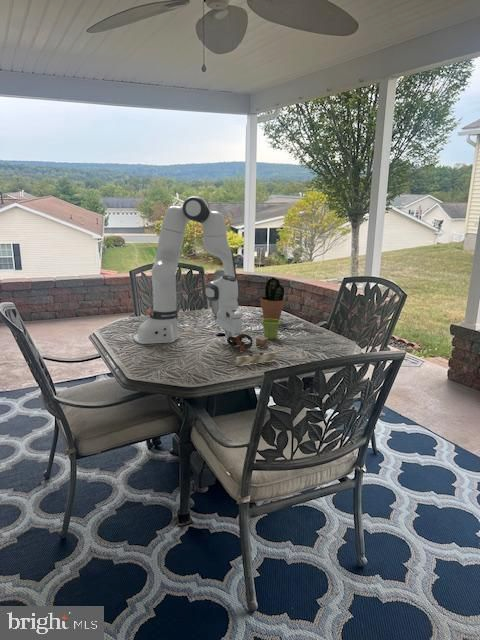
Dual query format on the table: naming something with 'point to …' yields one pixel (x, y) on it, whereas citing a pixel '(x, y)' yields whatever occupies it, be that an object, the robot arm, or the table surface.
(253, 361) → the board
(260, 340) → the walnut block
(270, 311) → the potted plant
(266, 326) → the plant pot
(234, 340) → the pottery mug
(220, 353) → the table surface
